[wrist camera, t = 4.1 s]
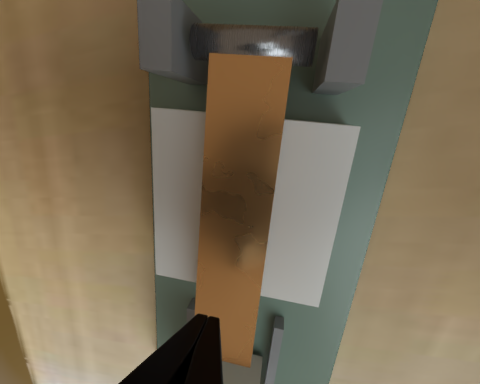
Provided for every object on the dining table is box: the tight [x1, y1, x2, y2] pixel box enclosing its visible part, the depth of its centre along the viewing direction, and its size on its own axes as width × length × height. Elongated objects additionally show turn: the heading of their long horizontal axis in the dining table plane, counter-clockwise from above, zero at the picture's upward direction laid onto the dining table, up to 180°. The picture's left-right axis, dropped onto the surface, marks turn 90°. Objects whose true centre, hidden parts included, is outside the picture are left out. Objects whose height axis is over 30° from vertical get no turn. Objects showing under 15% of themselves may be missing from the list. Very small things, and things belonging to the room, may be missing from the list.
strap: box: [189, 23, 318, 368], centre depth 11 cm, size 4×15×1 cm, turn 175°
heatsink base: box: [137, 0, 438, 384], centre depth 13 cm, size 13×25×5 cm, turn 175°
